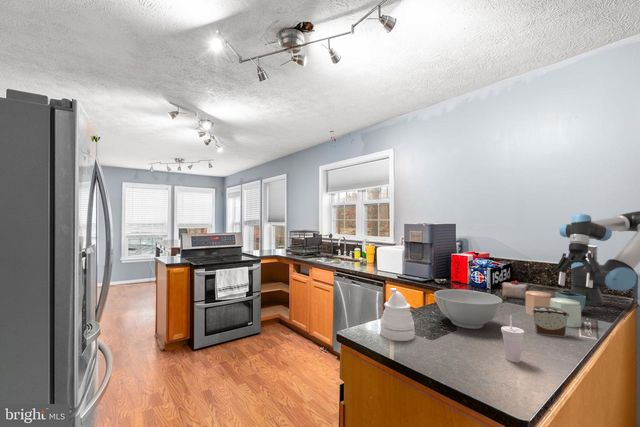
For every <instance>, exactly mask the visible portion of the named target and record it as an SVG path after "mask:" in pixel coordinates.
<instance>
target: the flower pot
mask: <svg viewBox="0 0 640 427" xmlns="http://www.w3.org/2000/svg"><path fill="white" fill-rule="evenodd" d="M555 298H566V299H572V300H576V301H579V302H580V305H581V312H583V310H584V309H585V306H586V305H585V301H586V297H585V296H582V295H579V294H575V293H570V292H566V291H565V292H562V291H561V292H560V291H558V292H557V291H555Z"/></svg>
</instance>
